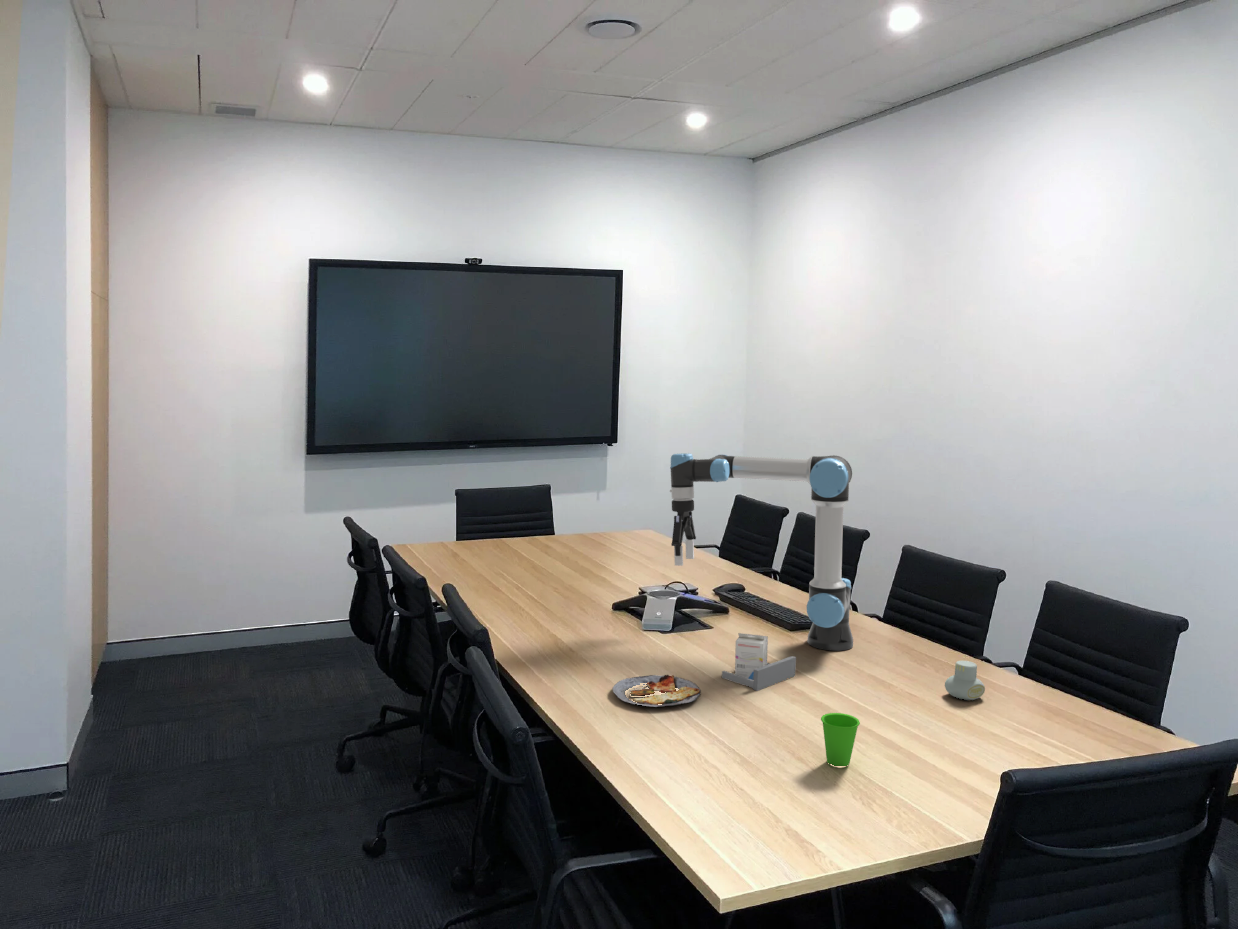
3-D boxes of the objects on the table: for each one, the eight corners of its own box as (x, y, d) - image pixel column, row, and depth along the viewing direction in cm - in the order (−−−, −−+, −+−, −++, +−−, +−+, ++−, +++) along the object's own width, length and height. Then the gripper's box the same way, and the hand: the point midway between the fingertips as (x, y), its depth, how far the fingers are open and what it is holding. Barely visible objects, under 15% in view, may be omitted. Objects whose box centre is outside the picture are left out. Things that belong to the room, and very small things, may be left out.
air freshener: (961, 704, 270) (963, 670, 269) (939, 695, 277) (941, 661, 276) (988, 699, 275) (991, 665, 274) (966, 689, 282) (968, 657, 281)
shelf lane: (795, 676, 290) (796, 657, 290) (757, 691, 277) (758, 671, 276) (757, 665, 300) (758, 646, 299) (719, 678, 287) (720, 659, 286)
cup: (814, 756, 233) (816, 713, 231) (850, 755, 234) (852, 712, 232) (825, 772, 224) (827, 727, 223) (862, 772, 225) (865, 727, 223)
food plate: (679, 677, 287) (679, 666, 286) (714, 705, 265) (715, 693, 265) (601, 688, 278) (601, 677, 277) (631, 718, 256) (631, 706, 256)
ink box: (767, 673, 293) (769, 630, 291) (762, 681, 285) (764, 638, 283) (739, 669, 296) (741, 627, 294) (734, 678, 288) (735, 634, 286)
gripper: (682, 495, 334) (684, 555, 336) (661, 503, 311) (663, 568, 312) (703, 495, 332) (704, 556, 333) (683, 503, 308) (685, 568, 310)
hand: (684, 562), depth 323 cm, fingers open, 13 cm apart
